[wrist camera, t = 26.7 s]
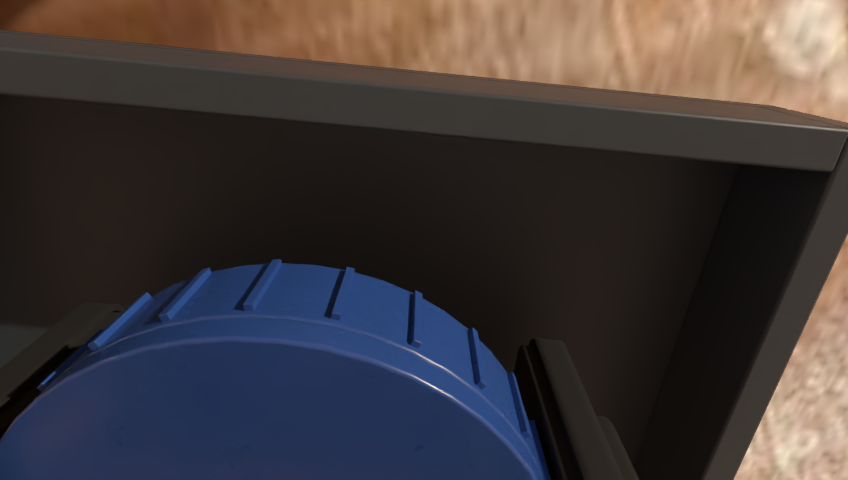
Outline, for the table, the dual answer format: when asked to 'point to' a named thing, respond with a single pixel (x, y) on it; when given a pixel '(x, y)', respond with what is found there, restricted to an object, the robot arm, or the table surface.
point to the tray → (438, 213)
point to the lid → (277, 389)
